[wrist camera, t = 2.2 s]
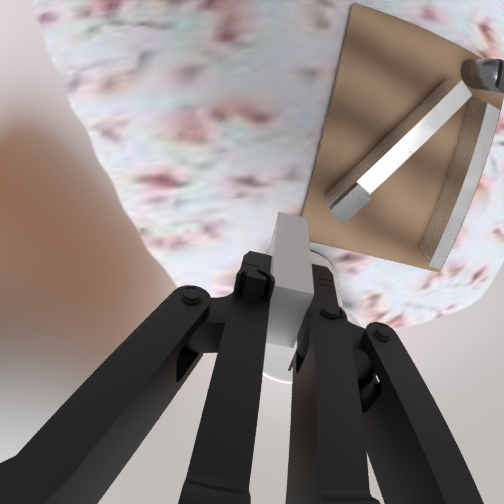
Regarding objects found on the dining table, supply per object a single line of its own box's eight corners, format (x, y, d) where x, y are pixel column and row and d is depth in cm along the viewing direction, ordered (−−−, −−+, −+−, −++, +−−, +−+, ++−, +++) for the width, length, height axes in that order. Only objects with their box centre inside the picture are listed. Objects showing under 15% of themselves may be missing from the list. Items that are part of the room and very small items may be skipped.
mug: (379, 284, 33) (402, 354, 24) (335, 333, 37) (342, 404, 28) (284, 232, 31) (279, 298, 22) (245, 291, 35) (230, 363, 26)
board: (351, 6, 20) (353, 2, 19) (501, 74, 20) (508, 74, 19) (296, 232, 31) (296, 238, 30) (435, 266, 31) (439, 272, 30)
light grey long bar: (445, 78, 20) (466, 80, 17) (456, 92, 21) (477, 96, 18) (324, 195, 27) (328, 211, 24) (336, 207, 28) (342, 225, 24)
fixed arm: (463, 54, 19) (495, 52, 14) (489, 68, 19) (522, 71, 14) (404, 244, 29) (421, 275, 24) (429, 251, 29) (449, 282, 24)
